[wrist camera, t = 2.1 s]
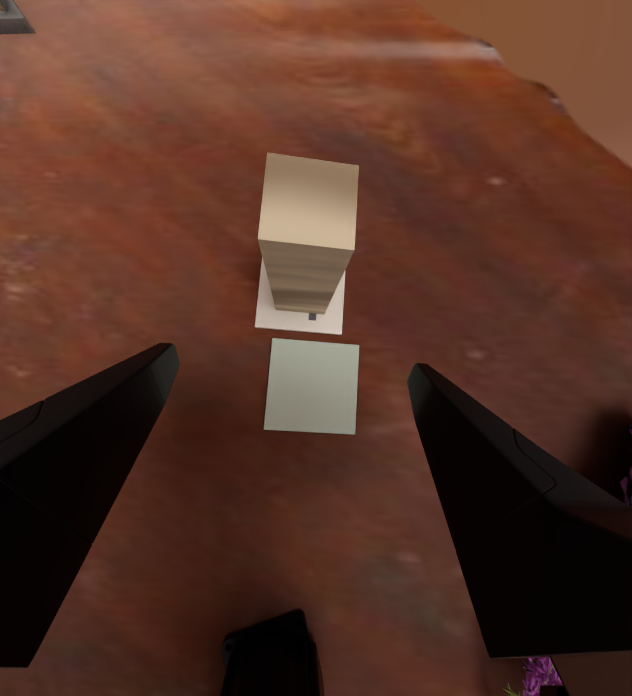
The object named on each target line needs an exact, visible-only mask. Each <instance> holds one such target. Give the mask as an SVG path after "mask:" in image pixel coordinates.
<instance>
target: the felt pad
mask: <svg viewBox="0 0 632 696" xmlns="http://www.w3.org/2000/svg"><path fill="white" fill-rule="evenodd" d="M358 358H359V345H349V344H337V343H325V342H313V341H301V340H289V339H277V338H272V348H271V358H270V369H269V379H268V390H267V401H266V411H265V422H264V430H281V431H300V432H319V433H338V434H355V424H356V402H357V380H358Z"/></svg>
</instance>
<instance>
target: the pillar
mask: <svg viewBox="0 0 632 696" xmlns="http://www.w3.org/2000/svg"><path fill="white" fill-rule="evenodd" d="M358 169H359V166H358V165H351V164H344V163H337V162H330V161H323V160H316V159H309V158H302V157H295V156H288V155H281V154H273V153H267V160H266V170H265V179H264V188H263V197H262V206H261V215H260V225H259V234H258V241H259V245H260V249H261V253H262V257H263V261H264V265H265V269H266V273H267V277H268V281H269V285H270V289H271V292H272V296H273V300H274V304H275V308H276V310H281V311H292V312H303V313H314V314H325V312H326V310H327V308H328V306H329V303H330V301H331V299H332V297H333V295H334V293H335V291H336V288H337V286H338V284H339V282H340V280H341V278H342V276H343V273H344V271H345V269H346V267H347V265H348V263H349V261H350V258H351V256H352V254H353V252H354V247H355V228H356V208H357V189H358Z"/></svg>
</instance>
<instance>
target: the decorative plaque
mask: <svg viewBox="0 0 632 696" xmlns="http://www.w3.org/2000/svg"><path fill="white" fill-rule="evenodd" d="M23 33H35V31H34V30H33V28H32V27H31V26H30V24H29V23H28V21H27V20H26V18H25V17H24V16H23V14H22V13H21V11H20V10H19V8H18V7H17V5H16V4H15V3H14V1H13V0H0V34H23Z"/></svg>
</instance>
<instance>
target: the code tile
mask: <svg viewBox="0 0 632 696" xmlns="http://www.w3.org/2000/svg"><path fill="white" fill-rule="evenodd" d="M344 284H345V271H344V273H343V276H342V278H341V280H340V282H339V284H338V286H337V288H336V291H335V293H334V295H333V297H332V299H331V301H330V303H329V306H328V308H327V310H326V312H325V314H314V313H303V312H292V311H281V310H276V308H275V304H274V300H273V296H272V292H271V289H270V285H269V281H268V277H267V273H266V269H265V265H264V261H263V257H262V264H261V273H260V283H259V292H258V302H257V311H256V321H255V328H262V329H274V330H285V331H297V332H309V333H320V334H332V335H342V320H343V302H344Z"/></svg>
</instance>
